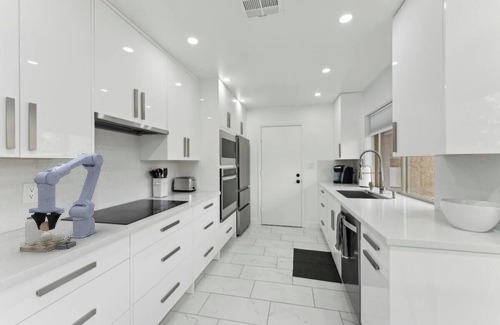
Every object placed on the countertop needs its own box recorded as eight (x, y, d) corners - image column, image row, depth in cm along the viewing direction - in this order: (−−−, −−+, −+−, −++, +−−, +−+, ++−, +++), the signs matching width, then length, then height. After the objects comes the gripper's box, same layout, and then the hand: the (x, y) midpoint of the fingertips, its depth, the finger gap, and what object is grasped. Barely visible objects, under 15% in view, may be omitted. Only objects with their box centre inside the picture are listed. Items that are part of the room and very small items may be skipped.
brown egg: (36, 232, 95) (36, 222, 94) (46, 229, 99) (46, 219, 99) (46, 232, 94) (46, 222, 94) (56, 229, 99) (56, 220, 99)
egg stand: (66, 244, 102) (66, 241, 102) (77, 244, 102) (77, 241, 102) (55, 249, 97) (55, 245, 97) (67, 249, 96) (67, 245, 96)
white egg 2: (58, 239, 105) (58, 230, 105) (67, 240, 105) (67, 230, 105) (49, 243, 100) (49, 233, 100) (58, 243, 100) (58, 233, 100)
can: (47, 239, 108) (47, 215, 108) (35, 244, 102) (35, 218, 102) (34, 239, 108) (34, 215, 108) (20, 244, 102) (21, 218, 102)
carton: (46, 241, 106) (46, 237, 106) (70, 241, 105) (70, 238, 105) (19, 251, 94) (19, 247, 94) (46, 252, 93) (46, 247, 93)
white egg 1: (46, 239, 105) (46, 230, 105) (55, 239, 105) (55, 230, 105) (37, 242, 100) (37, 233, 100) (46, 243, 100) (46, 233, 100)
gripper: (21, 200, 93) (21, 231, 93) (54, 200, 92) (53, 232, 92) (38, 197, 100) (37, 226, 100) (68, 197, 99) (68, 227, 99)
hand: (46, 229), depth 97 cm, fingers closed on brown egg, 4 cm apart
